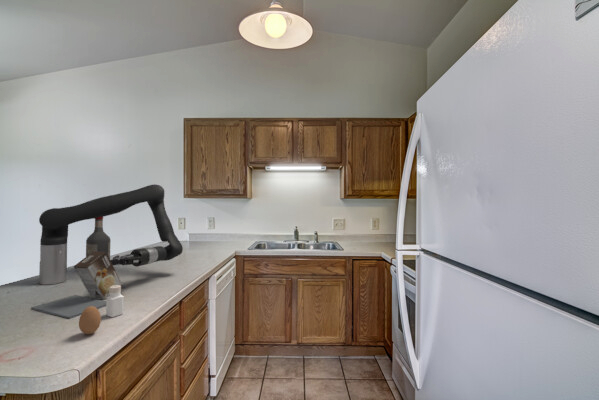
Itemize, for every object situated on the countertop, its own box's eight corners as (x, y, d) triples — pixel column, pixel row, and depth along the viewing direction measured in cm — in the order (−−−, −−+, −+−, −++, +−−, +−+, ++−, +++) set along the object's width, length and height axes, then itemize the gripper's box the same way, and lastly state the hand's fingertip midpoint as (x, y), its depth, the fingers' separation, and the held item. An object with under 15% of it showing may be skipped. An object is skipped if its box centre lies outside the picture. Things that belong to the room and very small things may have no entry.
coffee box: (108, 281, 119) (93, 250, 111) (122, 282, 118) (107, 251, 110) (90, 298, 111) (72, 266, 103) (104, 300, 110) (87, 267, 102)
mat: (31, 309, 99) (31, 307, 99) (75, 296, 113) (75, 294, 113) (69, 318, 92) (69, 317, 92) (111, 304, 106) (111, 302, 106)
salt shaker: (111, 318, 94) (111, 289, 94) (105, 315, 96) (105, 286, 96) (124, 314, 97) (124, 286, 97) (118, 311, 99) (118, 284, 99)
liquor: (92, 273, 145) (93, 214, 145) (83, 270, 150) (84, 213, 150) (111, 269, 153) (112, 213, 153) (103, 267, 158) (104, 212, 158)
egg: (104, 329, 86) (105, 303, 86) (92, 338, 81) (93, 310, 80) (87, 329, 86) (87, 303, 85) (74, 338, 80) (74, 309, 80)
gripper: (133, 246, 132) (95, 252, 116) (155, 249, 128) (119, 255, 112) (133, 263, 132) (95, 271, 116) (155, 266, 128) (118, 274, 111)
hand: (107, 263), depth 114 cm, fingers closed
